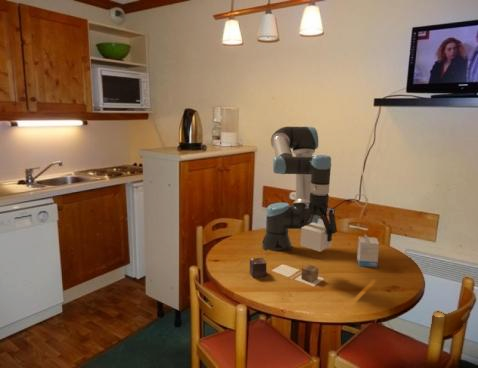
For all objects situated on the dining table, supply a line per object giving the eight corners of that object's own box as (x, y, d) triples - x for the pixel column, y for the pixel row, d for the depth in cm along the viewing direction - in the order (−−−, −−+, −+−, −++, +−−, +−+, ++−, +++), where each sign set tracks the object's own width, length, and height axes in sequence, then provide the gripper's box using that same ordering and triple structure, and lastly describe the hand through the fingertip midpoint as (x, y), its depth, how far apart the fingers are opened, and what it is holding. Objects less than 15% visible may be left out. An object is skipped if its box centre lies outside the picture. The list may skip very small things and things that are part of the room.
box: (266, 279, 147) (266, 263, 146) (252, 280, 146) (253, 264, 145) (262, 272, 153) (262, 257, 152) (249, 274, 152) (249, 258, 150)
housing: (300, 245, 146) (301, 227, 144) (311, 239, 153) (312, 222, 151) (320, 251, 140) (321, 233, 138) (331, 245, 146) (332, 227, 145)
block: (301, 279, 145) (301, 268, 144) (307, 275, 149) (307, 264, 148) (311, 283, 142) (312, 271, 141) (317, 278, 146) (318, 267, 145)
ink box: (377, 267, 160) (380, 240, 157) (358, 265, 161) (361, 238, 159) (374, 260, 168) (376, 233, 165) (356, 258, 170) (358, 232, 167)
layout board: (268, 273, 152) (268, 271, 152) (285, 263, 162) (285, 261, 162) (312, 290, 138) (313, 288, 138) (329, 278, 148) (329, 276, 148)
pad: (271, 271, 153) (271, 270, 153) (282, 264, 159) (282, 264, 159) (288, 277, 147) (288, 277, 147) (299, 270, 154) (299, 270, 154)
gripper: (291, 190, 146) (289, 240, 151) (340, 200, 131) (335, 254, 136) (301, 187, 151) (298, 235, 156) (348, 196, 137) (344, 249, 142)
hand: (316, 244), depth 146 cm, fingers closed on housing, 9 cm apart
